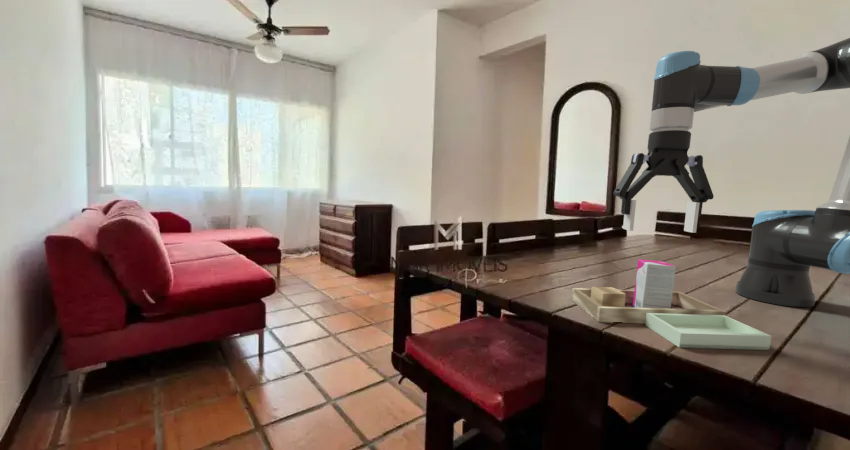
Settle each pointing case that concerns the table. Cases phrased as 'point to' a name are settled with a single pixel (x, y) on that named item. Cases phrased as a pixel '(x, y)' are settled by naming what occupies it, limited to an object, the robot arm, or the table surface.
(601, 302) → the oak block
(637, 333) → the table surface
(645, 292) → the supplement box
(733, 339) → the tray
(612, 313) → the frame
